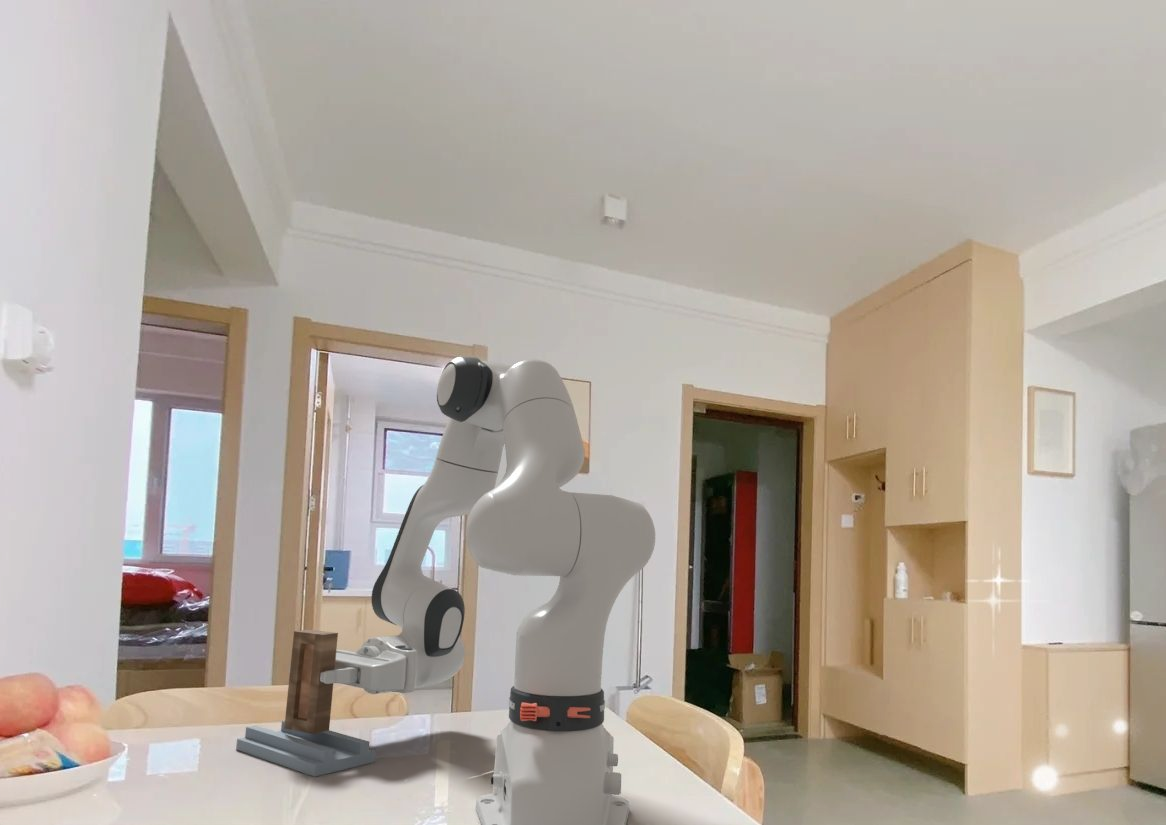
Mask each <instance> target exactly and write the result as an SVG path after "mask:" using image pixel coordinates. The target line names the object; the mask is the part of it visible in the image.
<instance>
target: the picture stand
mask: <svg viewBox="0 0 1166 825" xmlns="http://www.w3.org/2000/svg"><path fill="white" fill-rule="evenodd" d="M284 726H285V719H284V720H282V721H281V727H280V730H278V731H275V730H272V729H268V728H265V727H262V726H260V725H259V726H258V725H250V726H246V727H245V735H244V737H240V738H237V740H236V747H235V750H236V751H238V752H242V753H245V754H248V755H251V756H254V757H257V758H259V759H263V760H264V761H269V762H270V763H274V764H277V765H280V766H282V767H286V768H287V769H291V770H293V771H297V772H300V773H303V774H305V775H308V776H311V777H314V778H315V777H319V776H323V775H327V774H332V773H336V772H340V771H343V770H347V769H348V770H349V769H351V768H356V767H360V766H365V765H368V764H372V763H375V762H376V750H373V749H370V740H365V739H361V738H359V737H358V738H357V737H355V736H351V735H347V734H345V733H340V732H337V731H334V730H330V729H329V730H328V731H324V732H321V733H317V734H310V733H305V732H300V731H294V730H289V729H284Z"/></svg>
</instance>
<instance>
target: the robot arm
mask: <svg viewBox="0 0 1166 825" xmlns="http://www.w3.org/2000/svg"><path fill="white" fill-rule="evenodd" d="M437 382H438V383H437V391H436V402H437V405H438V407H439V410H440V412H441V413H442V414H443V415H444V416H446V417H448V420H447V424H446V426H445V429H444V431H443V433H442V436H441V440H440V443H439V445H438V448H437V453H436V456H435V457H436V458H435V461H434V463H433V466H432V470H431V471H430V474H429V476H428V478H427V479H426V481H425V482H424V483H423V484H422V485H421V486H420V487H419V488H417V490H416V491H415V493H414V494H413V496H412V498H411V500H410V502H409V504H408V507H407V509H406V512H405V515H404V516H403V520H402V522H401V525H400V528H399V530H398V532H397V535H396V537H395V538H396V539H395V541H394V543H393V545H392V549H391V551H390V554H389V556H388V558H387V560H386V563H385V565H384V567H383V569H381V572H380V573H379V575H378V576H377V579H376V580H375V582H374V585H373V587H372V591H371V607H372V610H373V612H374V614H375V615H376V616H377V617H378V618H379V619H380V620H382V621H385V622H387V623H390V624H392V625H395V626H397V627H399V628H401V632H400V633H399V634H397V635H389V636H379V637H377V636H376V637H370V638H368V639H367V640H365V641H364V643H363V644H362V645H361V646H360V648H359V649H358V650H357V651H351V650H346V649H336V660H335V670H332V669H328V670H322V671H321V672H320V678H319V681H320V682H321V683H325V684H331V683H333V684H341V685H346V686H349V687H355V688H357V689H358V688H360V689H363V690H364V691H365V692H366V693H367V694H370V695H378V694H389V693H399V694H400V693H401V694H407V693H412V692H414V691H415V689H416V688H422V687H426V686H427V687H429V686H432V685H436V684H439V683H442V682H445V681H447V680H450V679H451V678H453V676H455V675H456V674H457V673H459V671H461V668H462V667H463V666H464V662H465V659H466V658H465V657H466V648H465V647H466V646H465V643H464V642H463V638H462V637H461V632H462V629H463V626H464V622H465V613H466V607H465V606H466V605H465V602H464V598H463V597H462V595H461V593H460V592H459V591H457V590H456V589H453V588H451V587H450V586H447V585H446V584H443V583H441V582H440V581H437V580H434V579H433V578H430V577H429V576H426V575H425V574H424V573H423V570H422V565H423V564H422V563H423V561H424V558H425V556H426V553H427V550H428V548H429V547H430V546H429V545H430V543H431V540H432V537H433V536H434V535H433V534H434V532H435V530H436V528H437V527H438V525H440V523H441V522H443V521H444V520H447V519H450V518H454V517H455V518H456V517H461V516H467V515H468V517H467V520H466V525H465V539H466V543H467V544H466V545H467V548H468V551H469V552H470V554H471V558H473V560H474V561H475V563H477V565H479V567H480V568H483V569H487V570H490V571H494V572H498V573H501V574H507V575H512V576H521V577H522V576H523V577H524V576H525V577H527V576H529V577H531V576H532V577H559V581H558V586H557V588H556V590H555V593H554V595H553V596H552V597H551V599H550V600H548V601H547V602H546V603H544V604H542V605H541V606H539V607H536V608H535V609H533V610H531V611H530V612H529V613H528V614H526V615H525V616H524V618H523V619H522V620H521V621H520V624H519V626H518V628H517V630H516V637H515V639H516V641H515V660H514V679H513V680H514V682H513V685H512V687H511V688H510V692H509V693H510V694H509V698H508V718H509V722H508V723H507V725H506V726H505V727H504V728H503V729H502V730H500V732H499V733H497V734H496V742H495V743H496V744H495V756H494V758H495V759H494V771H493V774H492V776H491V778H490V784H491V786H492V793H487V794H483V795H482V794H481V795H480V796H478V797H477V798H476V804H475V809H476V814H477V815H478V819H479V820H480V824H481V825H627V822H628V818H629V813H630V804H629V803H630V802H629V800H628V799H626V798H624V797H621V796H619V795H621V793H622V773H620V772H614V767H618V764H619V755H618V754H617V753H614V741H615V740H614V739H615V738H614V736H613V735H611V733H610V732H609V731H608V730H607V729H606V727H605V726H604V724H603V723H604V722H605V709H606V700H605V691H604V690H603V688H602V675H603V674H602V671H603V670H602V669H603V655H604V645H605V644H604V642H605V636H606V635H605V633H606V628H607V623H608V620H609V618H610V614H611V612H612V609H613V606H614V604H615V603H616V600H617V599H618V597H619V595H620V593H621V592H622V590H624V588H625V586H626V585H627V583H628V582H629V581H630V580H631V579H632V578H634V576H635V575H636V574H638V573H639V572H640V571H641V570H643V569H644V567H646V566H647V564H648V563H649V561H650V560H651V557H652V555H653V554H654V553H653V552H654V550H655V546H656V528H655V524H654V521H653V519H652V517H651V515H650V513H649V511H648V510H647V508H646V507H645V506H643V505H642V504H641V503H638V502H635V501H633V500H629V499H626V498H622V497H618V496H616V495H611V494H599V493H583V492H570V491H566V490H563V489H561V487H563V486H565V485H566V484H568V483H569V482H571V480H574V478H575V477H576V476H577V475H578V474H579V472H581V470H582V468H583V465H584V462H585V456H586V450H585V446H584V442H583V437H582V434H581V432H580V426H579V423H578V419H577V418H578V417H577V415H576V411H575V409H574V404H573V401H572V399H571V397H570V396H571V395H570V393H569V391H568V389H567V386H566V384H565V383H564V380H563V379H562V377H561V376H560V373H559V372H558V371H557V369H556V368H555V367H554V366H553V365H552V364H550V363H549V362H547V361H545V360H541V359H538V358H537V359H536V358H532V359H531V358H530V359H524V360H521V361H519V362H516V363H515V364H513V365H509V364H503V363H500V362H494V361H488V360H481V359H480V358H478V357H475V356H474V357H472V356H459V357H454V358H453V359H452V360H450V361H449V362H448V363H447V364H446V365H445V366H444V367H443V370H442V371H441V373H440V376H439V379H438V381H437ZM504 446H505V447H504ZM503 449H505V457H506V458H505V459H506V468H505V469H506V470H505V473H504V475H503V477H502V479H501V480H500V481H499V483H498V484H497V485H496V482H497V478H498V475H499V470H500V466H501V461H502V455H503ZM290 667H291V664H290V665H289V670H288V674H289V676H290Z"/></svg>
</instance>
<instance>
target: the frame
mask: <svg viewBox="0 0 1166 825" xmlns="http://www.w3.org/2000/svg"><path fill="white" fill-rule="evenodd" d="M338 635H339V632H332V631H331V632H330V631H325V630H324V631H322V630H314V629H304V630H293V639H292V650H291V658H290V659H291V660H290V665H291V667H290V666H289V668H290V675H289V677H288V678H289V679H288V686H287V687H288V688H287V699H286V707H285V708H286V709H285V717H284V720H285V726H284V729H289V730H294V731H300V732H305V733H310V734H317V733H321V732H324V731H328V730H330V724H331V712H332V704H333V703H332V702H333V701H332V700H333V690H334V683H331V684H325V683H321V682H320V681H319V678H320V672H321V671H322V670H328V669H332V670H335V660H336V650H338V648H337V647H338V637H339V636H338Z"/></svg>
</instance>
